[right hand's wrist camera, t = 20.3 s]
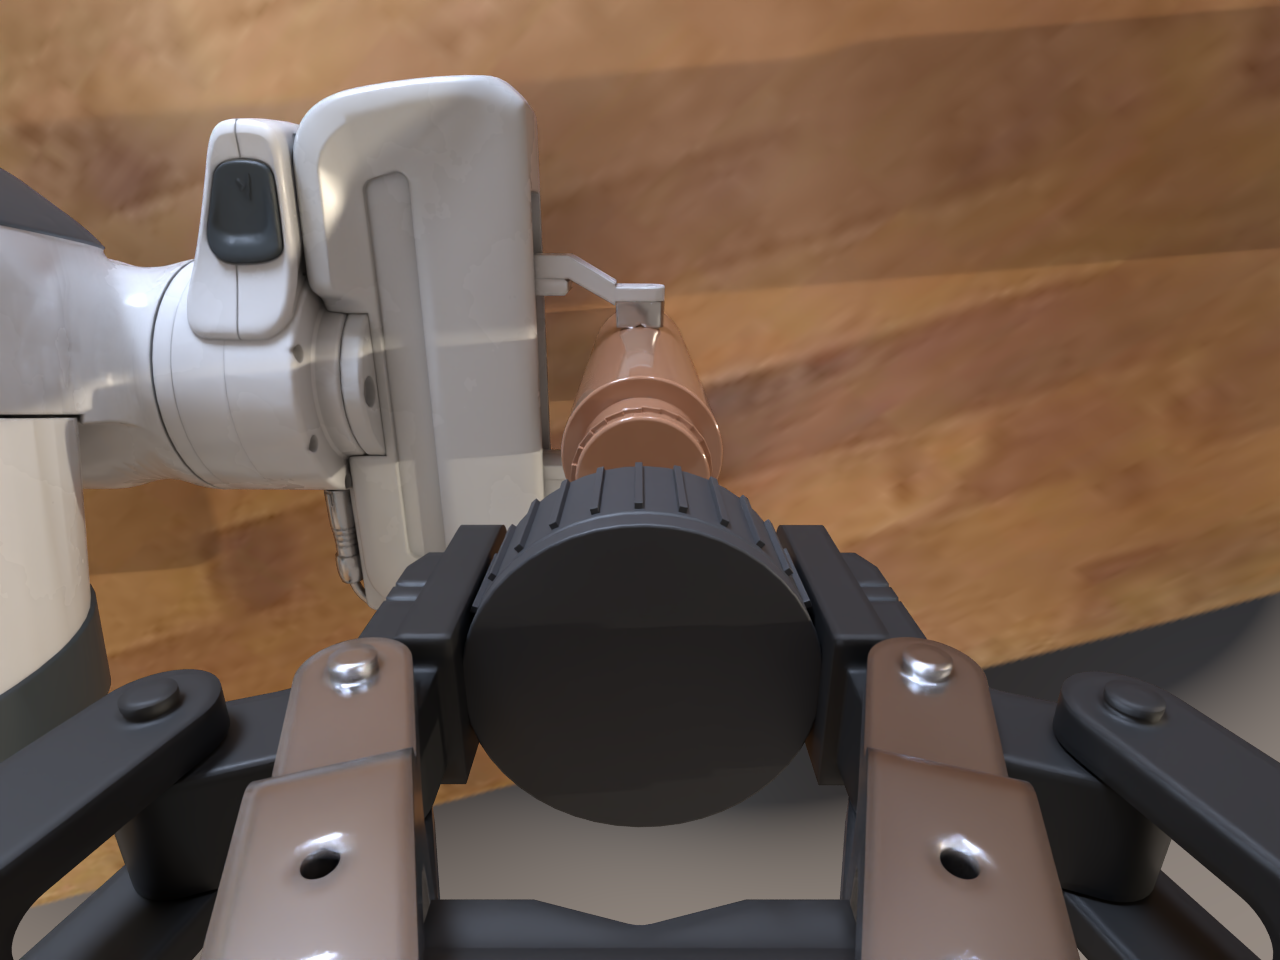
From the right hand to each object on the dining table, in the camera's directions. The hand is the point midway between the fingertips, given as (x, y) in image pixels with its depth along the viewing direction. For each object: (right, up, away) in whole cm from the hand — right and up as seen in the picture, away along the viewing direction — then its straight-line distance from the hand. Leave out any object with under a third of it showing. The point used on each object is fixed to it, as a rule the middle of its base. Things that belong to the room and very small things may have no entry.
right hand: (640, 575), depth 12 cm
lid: (0, -1, -3) cm, 3 cm away
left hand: (+1, +6, +15) cm, 16 cm away
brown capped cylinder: (0, +8, +21) cm, 22 cm away
